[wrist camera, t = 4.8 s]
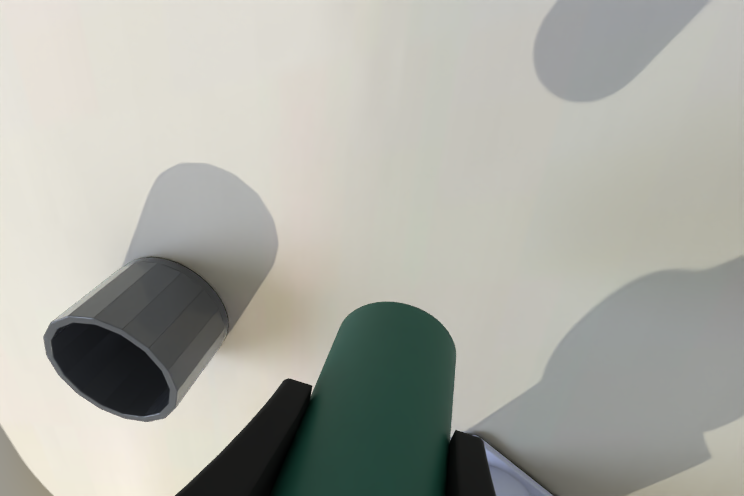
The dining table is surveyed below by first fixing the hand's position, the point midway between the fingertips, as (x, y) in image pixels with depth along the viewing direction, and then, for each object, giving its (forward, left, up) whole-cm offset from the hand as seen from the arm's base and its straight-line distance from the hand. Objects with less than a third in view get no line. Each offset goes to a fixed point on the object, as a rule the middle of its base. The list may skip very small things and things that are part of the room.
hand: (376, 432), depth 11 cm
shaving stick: (0, 0, -3) cm, 3 cm away
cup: (+7, +14, -10) cm, 18 cm away
